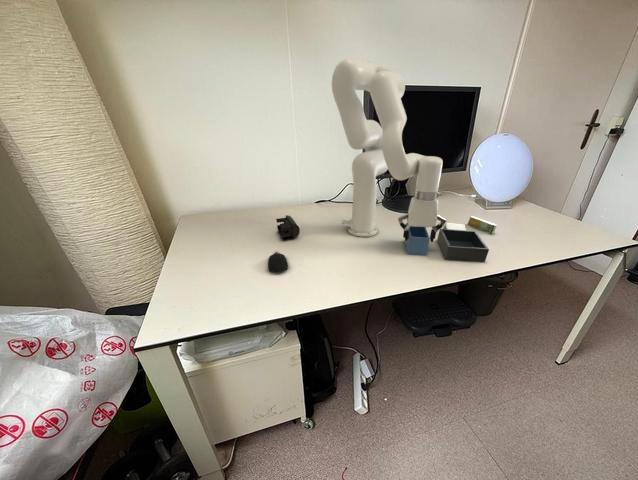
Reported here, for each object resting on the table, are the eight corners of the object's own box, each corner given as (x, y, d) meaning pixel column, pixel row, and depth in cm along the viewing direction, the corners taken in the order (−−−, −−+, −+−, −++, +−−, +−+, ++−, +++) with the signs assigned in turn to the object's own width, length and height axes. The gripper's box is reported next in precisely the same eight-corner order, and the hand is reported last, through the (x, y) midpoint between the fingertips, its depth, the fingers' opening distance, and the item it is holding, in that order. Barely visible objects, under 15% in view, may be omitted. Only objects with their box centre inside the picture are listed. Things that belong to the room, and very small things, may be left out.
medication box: (494, 233, 121) (498, 225, 119) (491, 234, 119) (495, 225, 117) (469, 223, 128) (472, 215, 126) (466, 224, 127) (469, 216, 125)
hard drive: (463, 227, 125) (468, 239, 115) (445, 225, 126) (447, 237, 116) (464, 224, 124) (469, 235, 114) (445, 222, 125) (448, 233, 115)
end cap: (300, 238, 110) (299, 223, 106) (283, 241, 108) (281, 225, 104) (294, 229, 118) (292, 214, 114) (277, 231, 115) (275, 216, 111)
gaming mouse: (284, 251, 101) (283, 242, 99) (289, 273, 89) (288, 263, 87) (267, 253, 99) (265, 243, 97) (269, 276, 88) (267, 265, 85)
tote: (445, 259, 100) (448, 246, 97) (437, 240, 113) (439, 228, 110) (484, 262, 99) (489, 249, 96) (471, 242, 112) (475, 230, 109)
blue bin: (407, 253, 103) (410, 237, 99) (404, 240, 112) (407, 224, 108) (426, 255, 102) (429, 238, 98) (422, 241, 111) (425, 226, 107)
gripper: (448, 192, 98) (439, 236, 107) (399, 191, 99) (395, 234, 108) (453, 199, 92) (443, 245, 101) (401, 197, 93) (396, 243, 102)
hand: (418, 239), depth 105 cm, fingers open, 9 cm apart
